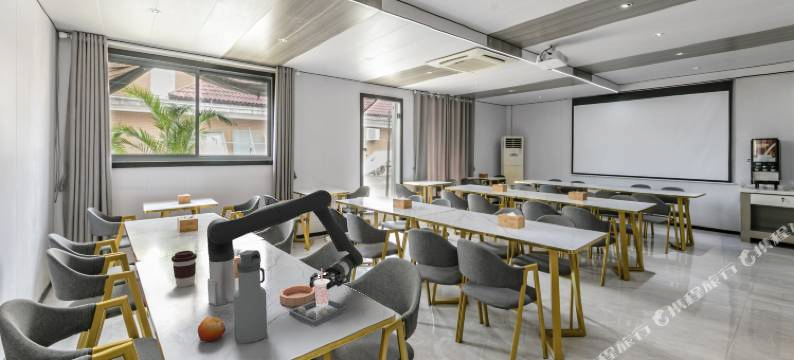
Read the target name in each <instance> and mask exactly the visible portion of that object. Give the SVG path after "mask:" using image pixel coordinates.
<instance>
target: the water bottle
mask: <svg viewBox="0 0 794 360" xmlns="http://www.w3.org/2000/svg"><path fill="white" fill-rule="evenodd" d="M239 258H240V260H238V261H237V262H236V269H237V270H236V272H237V278H238V279H237V280H238V283H237V284H238V289H237V290H236V292H235V294H234V296H233V321H234V323H233V325H234V338H235V340H236V342H238V343H240V344H251V343H256V342H258V341H261V340H263V339H264V338H265V337H266V336H267V334H268V316H267V312H268V311H267V292H266V289H265V288H264V287H263V286H261V284H263V283H264V282H265V280H266V278H265V277H266V275H265V273H266V271H265V269H264V268H263V267H261V262H262V260H261V253H260V251H259V250H257V249H256V250H254V249H253V250H252V249H251V250H244V251H242V252H240V253H239ZM261 276H262V277H261ZM261 278H262V279H261Z"/></svg>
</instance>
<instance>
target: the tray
mask: <svg viewBox="0 0 794 360" xmlns="http://www.w3.org/2000/svg"><path fill="white" fill-rule="evenodd" d="M328 305H331V306H333V307H335V308H338V309H337V310H334V311H332V312H330V313H327V315H325V316H323V317H322V316H320V317H318V318H315V319H313V320H311V319H309V318H308V316H304V315H300V314H298V308H299V307H301V306H303V307H305V308H306V310H307V309H309V308H311V307H314V306H316V300H314V301H313V302H310V303H308V304H305V305H299V306H297V307H296V308H293V309H290V310H288V315H289V316H291V317H294V318H296V319H298V320H299V321H302V322H304V323H306V324H308V325H310V326H313V327H314V326H316V325H318V324H320V323H323V322H325V321H327V320H329V319H332V318H334V317H336V316H338V315H341V314H343V313H344V312H347V311H348V305H344V304H342V303H340V302H337V301H334V300H331V299H329V298H328Z"/></svg>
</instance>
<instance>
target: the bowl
mask: <svg viewBox="0 0 794 360" xmlns="http://www.w3.org/2000/svg"><path fill="white" fill-rule="evenodd" d="M313 301H316V298H315V286H314V287H313V288H310V284H309V285H308V284H307V285H305V284H299V285H298V284H297V285H291V286H287V287H284V288H283V289H282V290H279V303H280V304H282V305H284V306H287V307H289V306H290V307H300V306H303V305H305V304H308V303H310V302H313Z"/></svg>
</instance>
